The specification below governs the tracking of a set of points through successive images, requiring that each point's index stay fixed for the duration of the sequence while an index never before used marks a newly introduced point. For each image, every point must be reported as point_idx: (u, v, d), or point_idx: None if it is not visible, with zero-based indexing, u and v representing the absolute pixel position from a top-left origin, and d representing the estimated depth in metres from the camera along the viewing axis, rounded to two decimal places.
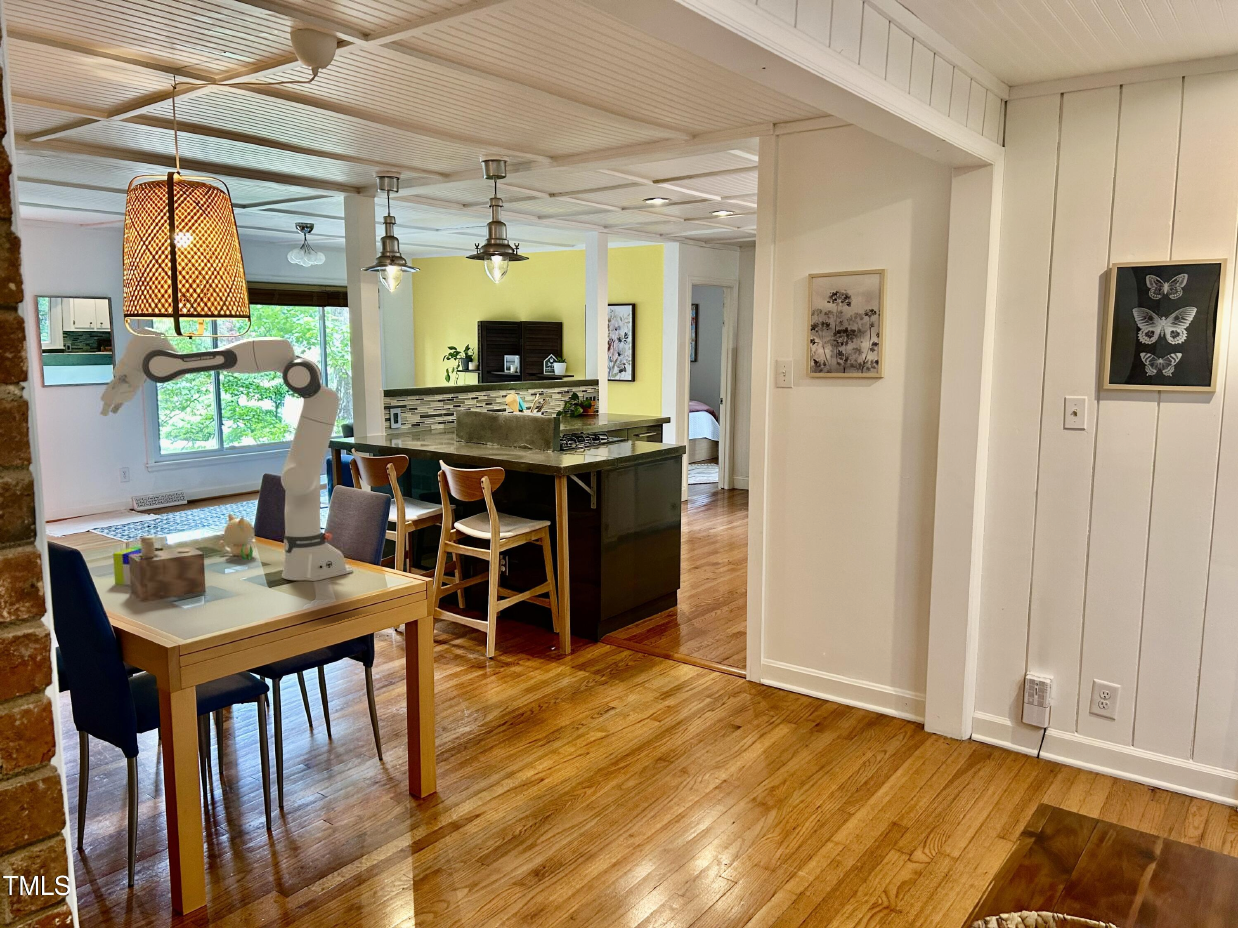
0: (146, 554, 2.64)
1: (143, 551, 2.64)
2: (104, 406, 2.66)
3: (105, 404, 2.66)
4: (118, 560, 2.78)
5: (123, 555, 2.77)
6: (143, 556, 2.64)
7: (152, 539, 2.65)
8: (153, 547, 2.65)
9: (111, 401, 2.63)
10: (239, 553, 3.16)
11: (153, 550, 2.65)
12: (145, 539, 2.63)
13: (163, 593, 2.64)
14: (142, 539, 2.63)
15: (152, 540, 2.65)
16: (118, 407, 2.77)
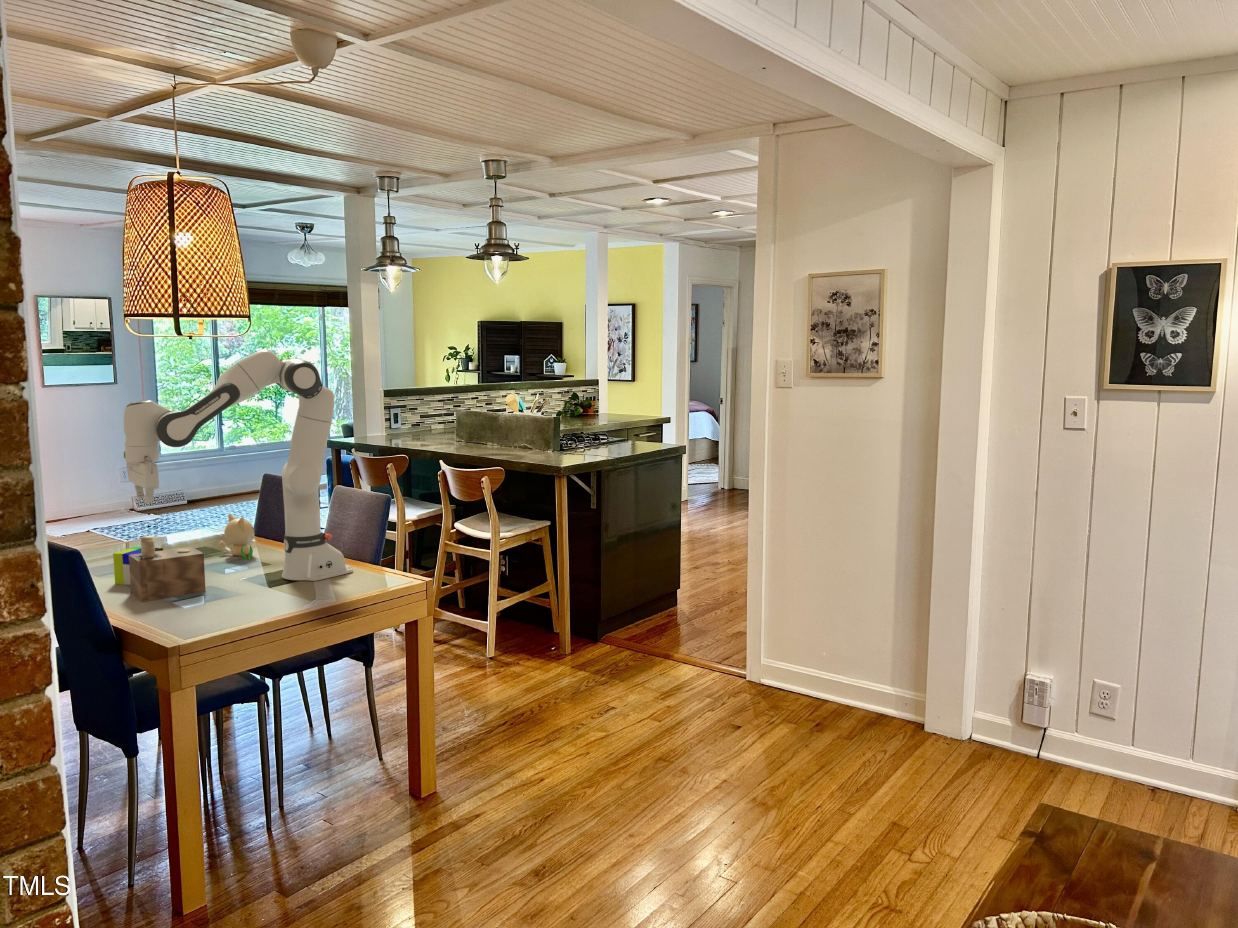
0: (146, 554, 2.64)
1: (143, 551, 2.64)
2: (147, 493, 2.58)
3: (148, 491, 2.58)
4: (118, 560, 2.78)
5: (123, 555, 2.77)
6: (143, 556, 2.64)
7: (152, 539, 2.65)
8: (153, 547, 2.65)
9: (157, 484, 2.56)
10: (239, 553, 3.16)
11: (153, 550, 2.65)
12: (145, 539, 2.63)
13: (163, 593, 2.64)
14: (142, 539, 2.63)
15: (152, 540, 2.65)
16: (141, 490, 2.67)
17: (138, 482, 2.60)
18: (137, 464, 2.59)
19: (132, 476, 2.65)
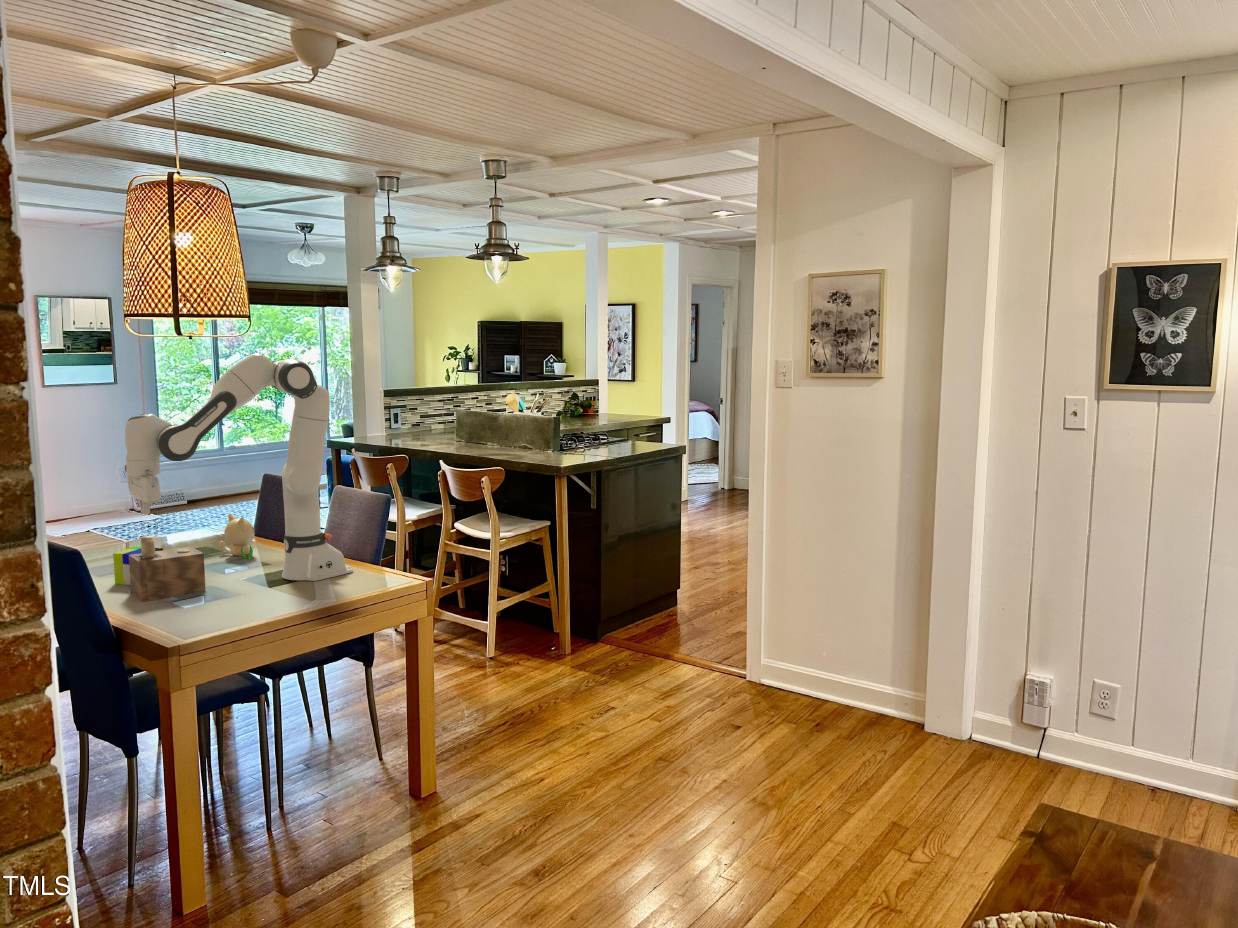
0: (146, 554, 2.64)
1: (143, 551, 2.64)
2: (145, 505, 2.62)
3: (145, 503, 2.61)
4: (118, 560, 2.78)
5: (123, 555, 2.77)
6: (143, 556, 2.64)
7: (152, 539, 2.65)
8: (153, 547, 2.65)
9: (159, 498, 2.57)
10: (239, 553, 3.16)
11: (153, 550, 2.65)
12: (145, 539, 2.63)
13: (163, 593, 2.64)
14: (142, 539, 2.63)
15: (152, 540, 2.65)
16: None
17: (139, 496, 2.61)
18: (138, 478, 2.59)
19: (133, 489, 2.66)
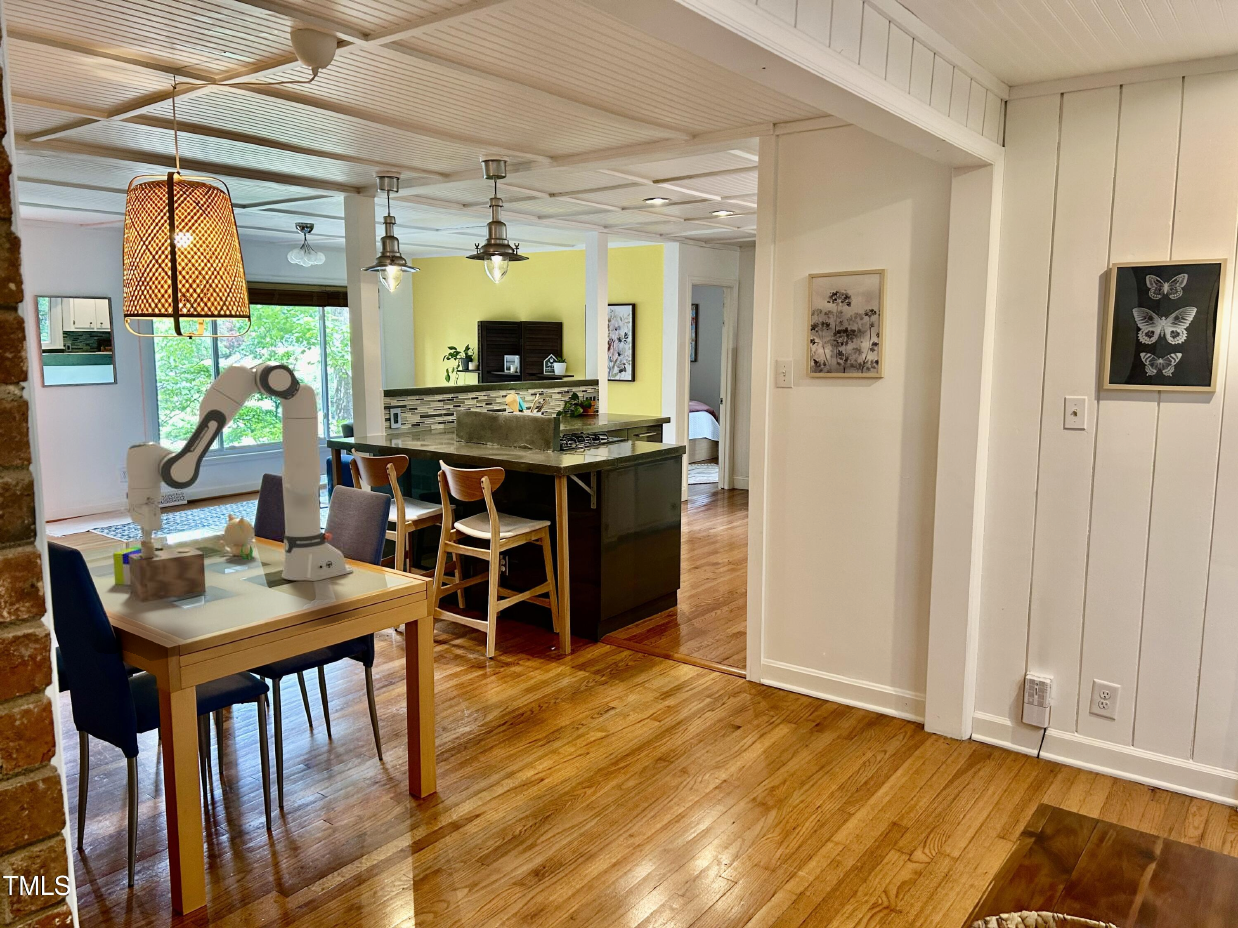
0: None
1: (143, 555, 2.64)
2: (146, 533, 2.63)
3: (147, 530, 2.62)
4: (118, 560, 2.78)
5: (123, 555, 2.77)
6: None
7: (152, 543, 2.65)
8: (153, 551, 2.65)
9: (160, 526, 2.58)
10: (239, 553, 3.16)
11: (153, 554, 2.65)
12: (145, 543, 2.63)
13: (163, 593, 2.64)
14: (142, 543, 2.64)
15: (153, 544, 2.65)
16: None
17: (141, 523, 2.62)
18: (140, 506, 2.60)
19: (134, 517, 2.67)
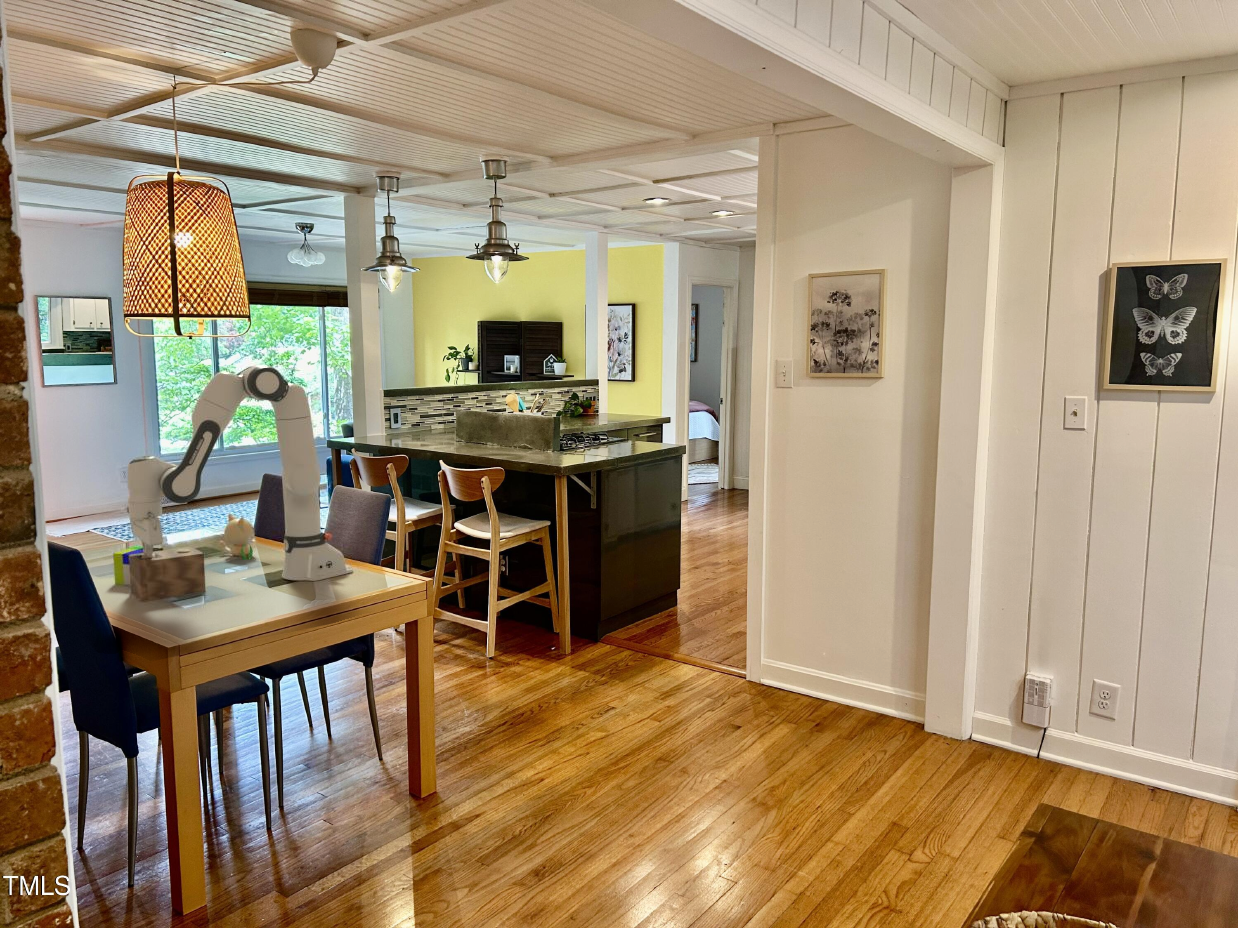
0: None
1: None
2: (147, 547, 2.63)
3: (148, 545, 2.63)
4: (118, 560, 2.78)
5: (123, 555, 2.77)
6: None
7: None
8: None
9: (161, 541, 2.59)
10: (239, 553, 3.16)
11: None
12: (146, 557, 2.64)
13: (163, 593, 2.64)
14: (143, 557, 2.64)
15: None
16: None
17: (142, 537, 2.62)
18: (141, 520, 2.61)
19: (135, 531, 2.67)
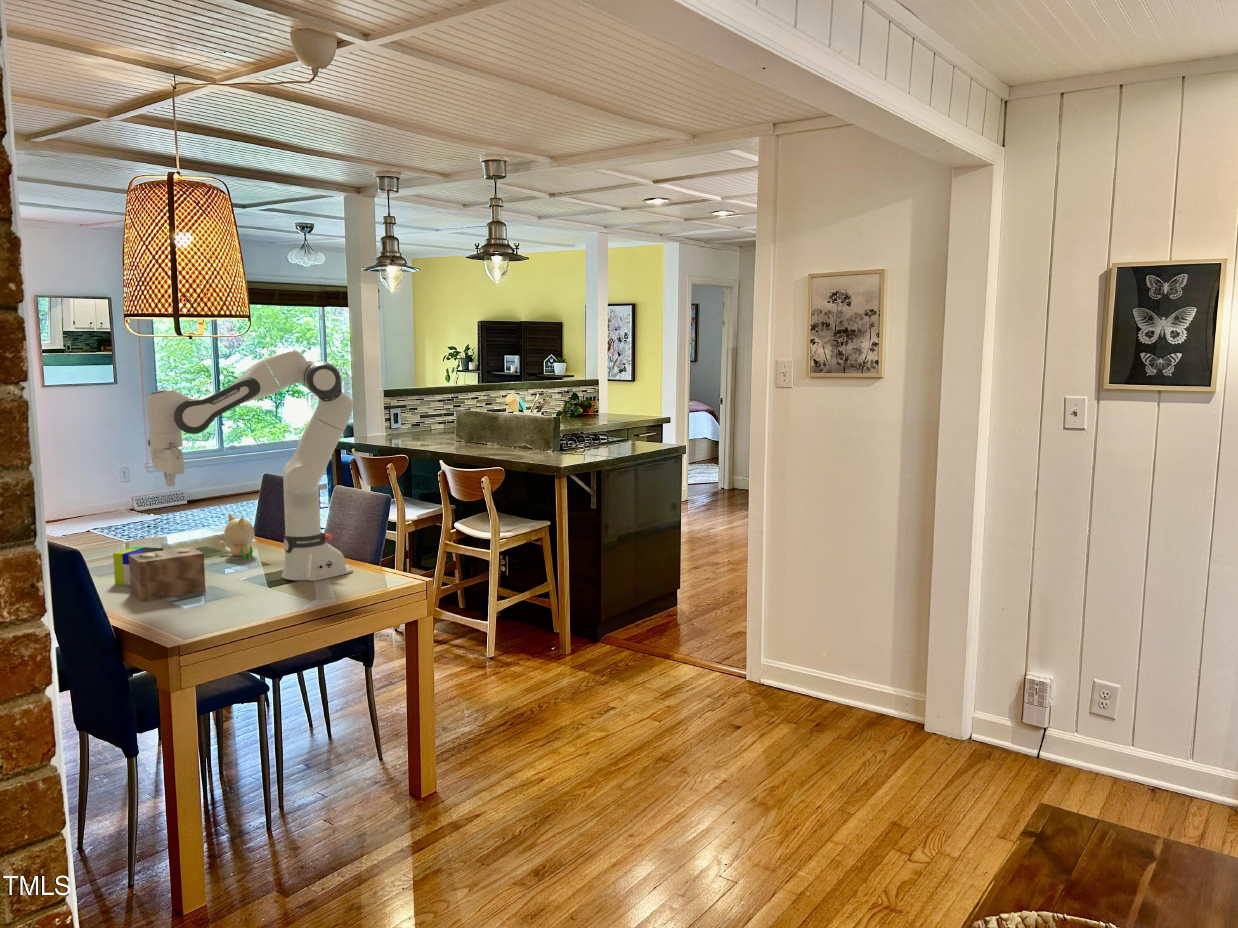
0: None
1: None
2: (169, 477, 2.71)
3: (170, 475, 2.71)
4: (118, 560, 2.78)
5: (123, 555, 2.77)
6: None
7: None
8: None
9: (183, 469, 2.66)
10: (239, 553, 3.16)
11: None
12: (146, 557, 2.64)
13: (163, 593, 2.64)
14: (143, 557, 2.64)
15: None
16: None
17: (164, 468, 2.70)
18: (162, 451, 2.68)
19: (157, 463, 2.75)
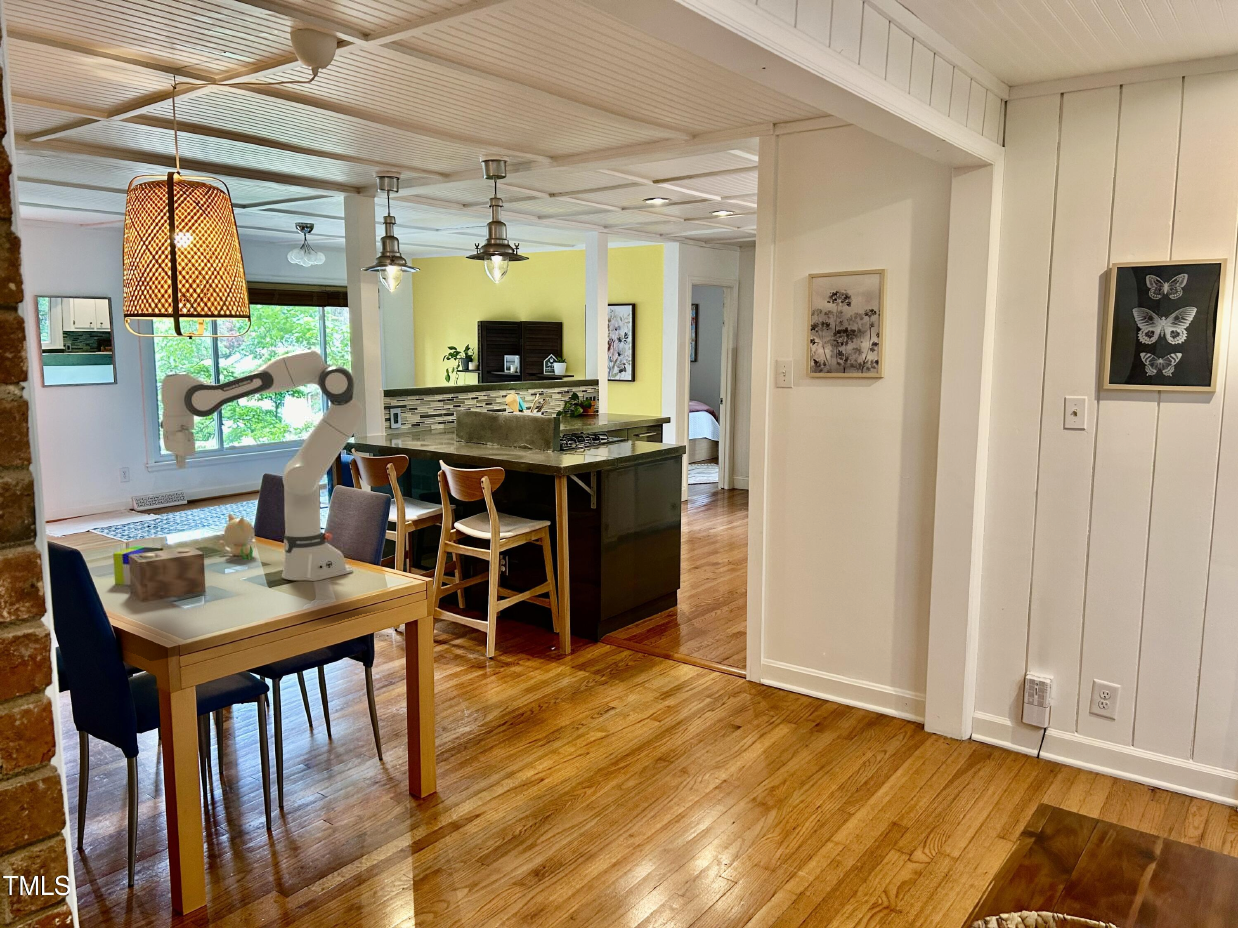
0: None
1: None
2: (180, 459, 2.75)
3: (181, 457, 2.75)
4: (118, 560, 2.78)
5: (123, 555, 2.77)
6: None
7: None
8: None
9: (194, 452, 2.71)
10: (239, 553, 3.16)
11: None
12: (146, 557, 2.64)
13: (163, 593, 2.64)
14: (143, 557, 2.64)
15: None
16: None
17: (175, 450, 2.74)
18: (174, 433, 2.73)
19: (168, 445, 2.79)
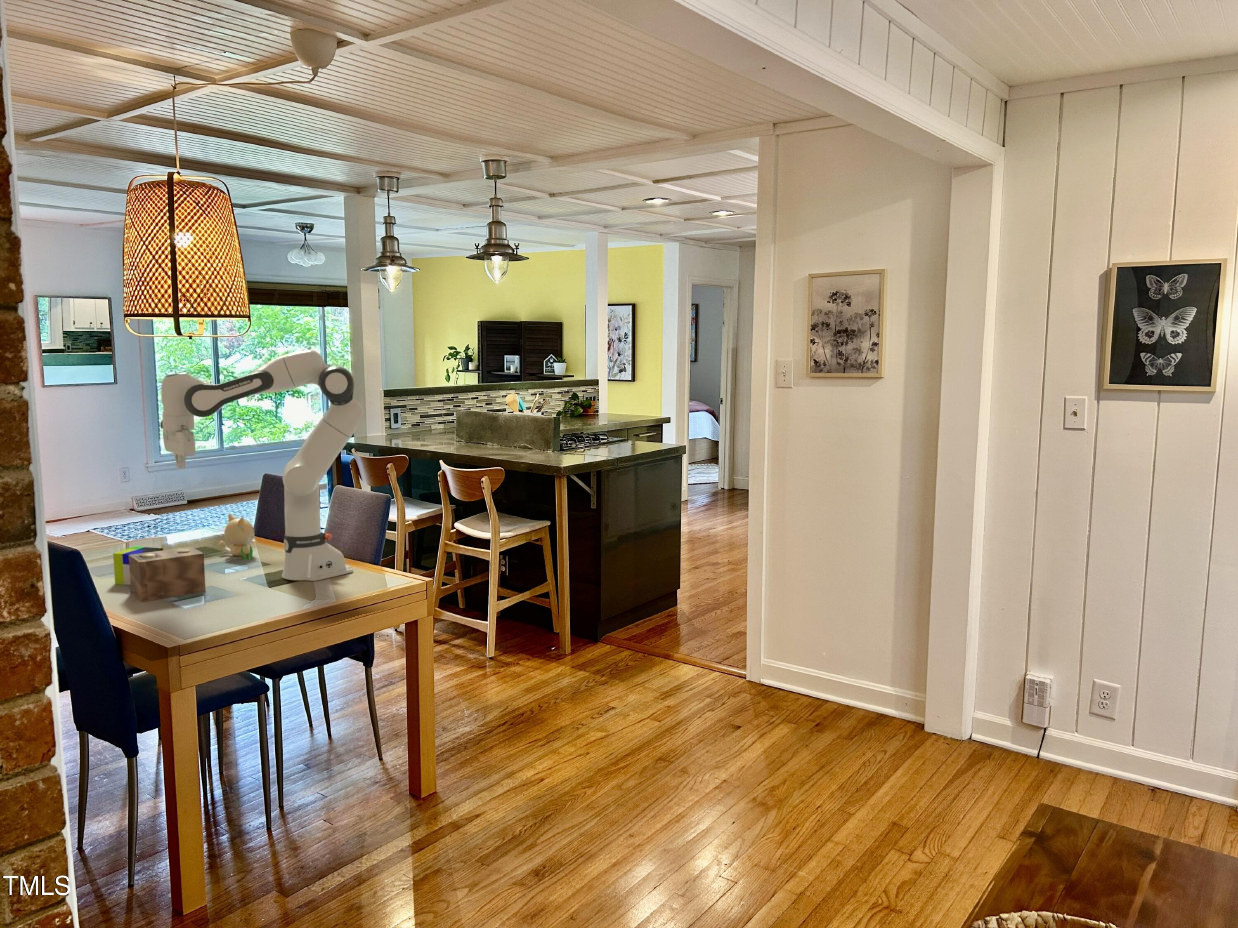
0: None
1: None
2: (180, 459, 2.75)
3: (181, 457, 2.75)
4: (118, 560, 2.78)
5: (123, 555, 2.77)
6: None
7: None
8: None
9: (194, 452, 2.71)
10: (239, 553, 3.16)
11: None
12: (146, 557, 2.64)
13: (163, 593, 2.64)
14: (143, 557, 2.64)
15: None
16: None
17: (175, 450, 2.74)
18: (174, 433, 2.73)
19: (168, 445, 2.79)
